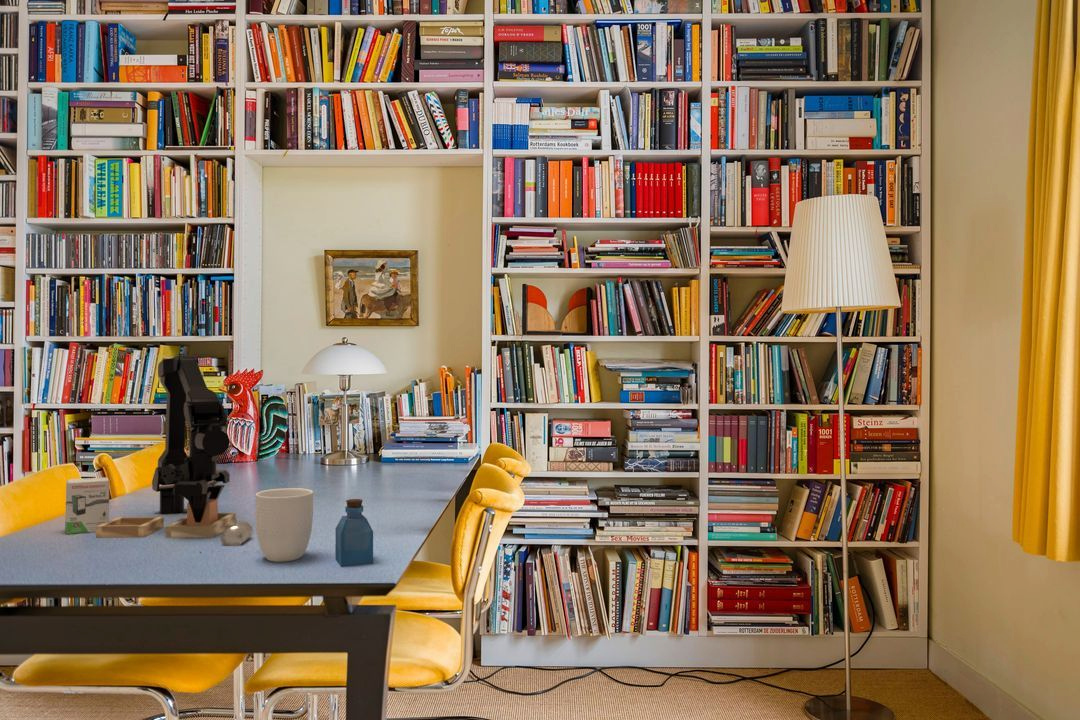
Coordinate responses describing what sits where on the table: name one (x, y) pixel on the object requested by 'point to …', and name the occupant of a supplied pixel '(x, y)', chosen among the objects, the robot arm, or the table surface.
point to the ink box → (86, 504)
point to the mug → (284, 522)
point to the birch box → (200, 527)
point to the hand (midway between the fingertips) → (202, 519)
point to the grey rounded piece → (236, 534)
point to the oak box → (129, 527)
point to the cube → (208, 516)
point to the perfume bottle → (354, 537)
